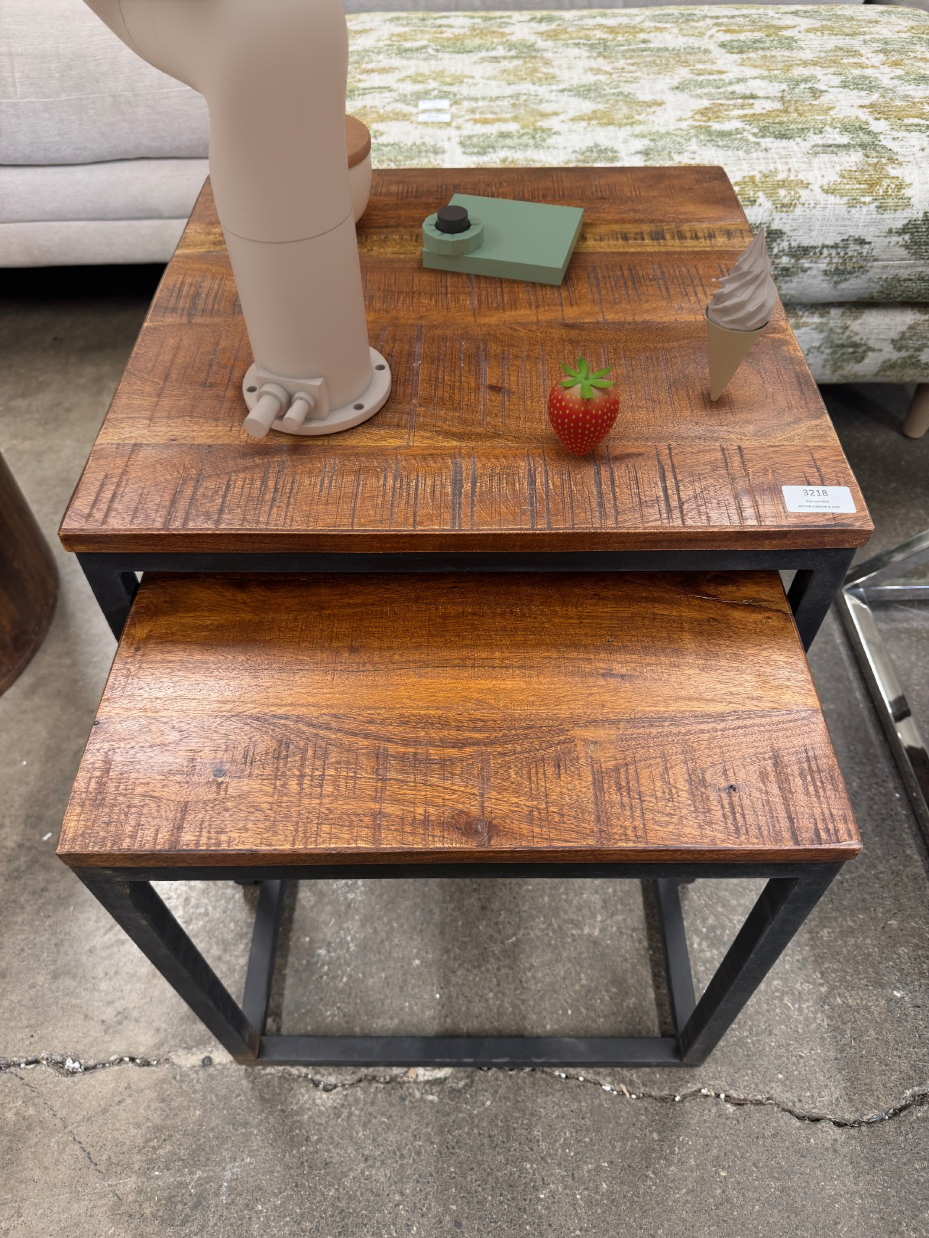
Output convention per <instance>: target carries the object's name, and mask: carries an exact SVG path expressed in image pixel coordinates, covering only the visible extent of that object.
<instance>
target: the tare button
mask: <svg viewBox="0 0 929 1238" xmlns="http://www.w3.org/2000/svg"><path fill="white" fill-rule="evenodd" d="M436 212H437V223H438V231H440V232H442V233H446V234H457V233H463V232H465V231H467V230H468V211H467V210H466V209H465V208H464V207H461V206H457V205H449V206H448V205H444V206H442V207H440V208H438V210H437V211H436Z"/></svg>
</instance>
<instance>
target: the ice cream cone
mask: <svg viewBox="0 0 929 1238" xmlns="http://www.w3.org/2000/svg"><path fill="white" fill-rule="evenodd" d="M765 231H766V230H765V226H762V227H761V228H760V229H759V231H758V232H757V234H756V235H755V237H753V239H752V241H751V242H750V243H749V244H748V246H747V247H746V248H745V250H743V251H742V253H740V254H739V255H738V256H736V257H735V259H736V260H737V262H736V263H734V265H733V267H732V268H731V269H730V270H728V271H727V273H728V274H729V275H727V276H724V277H720V278H718V279H717V283H718V284H719V285H720V286H721V287H720V288H719V289H717V290H713V291H712V293H710V297H711V298H712V299H711V300H709V301H708V302H707V304H705V307H704V310H703V313H704V316H705V321H706V338H707V353H708V354H707V355H708V370H709V386H710V399H711V401H712V402H717V401H718V400H719V398H720V397H721V395H722V394H723V392H724V391H725V389H726V387H727V386H728V384H729V383H730V381H731V380H732V379H733V377H734V376H735V374H736V373H737V371H738V369H739V368H740V366H741V364H742V363H743V362H744V360H745V359H746V357H747V356H748V354H749V352H750V351H751V349H752V348H753V346H754V345H755V343H756V342H757V340H758V339H759V337H760V335H761V334H762V333H763V332H764V330H765V328H767V327H768V326H769V325H770V323H771V321H772V317H773V313H774V310H775V308H776V306H777V302H778V301H777V300H778V294H779V291H778V287H777V286H776V284H775V282H774V281H773V278H772V277H771V275H770V272H771V266H772V261H771V259H770V256H769V255H768V247H767V241H766V232H765Z"/></svg>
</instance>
